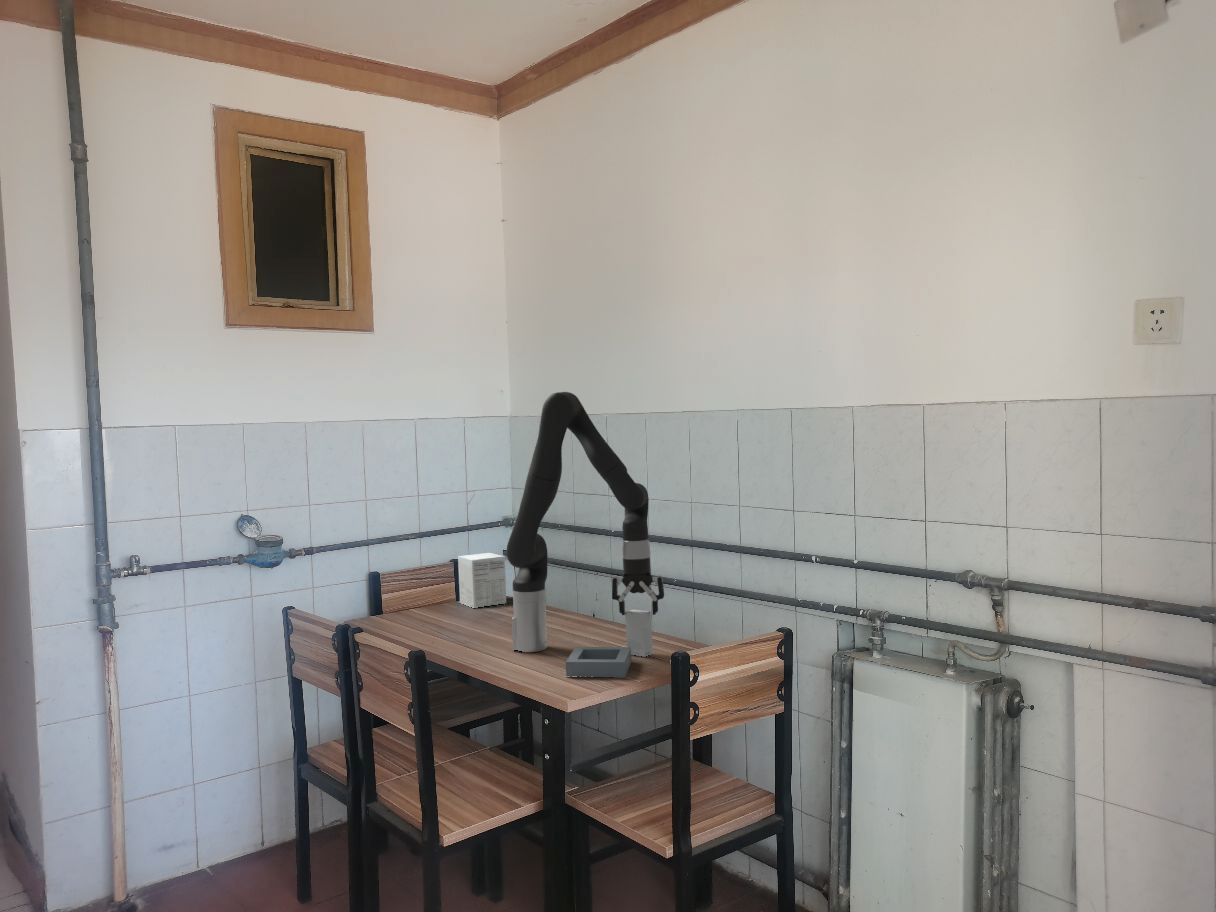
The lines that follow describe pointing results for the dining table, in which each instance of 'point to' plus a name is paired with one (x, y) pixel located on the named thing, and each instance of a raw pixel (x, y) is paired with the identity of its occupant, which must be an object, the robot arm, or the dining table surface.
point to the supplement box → (482, 579)
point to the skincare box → (639, 632)
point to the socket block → (599, 662)
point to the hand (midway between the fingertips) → (638, 614)
